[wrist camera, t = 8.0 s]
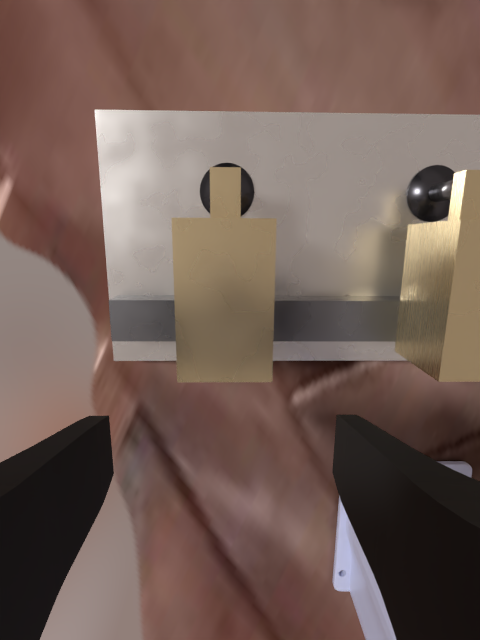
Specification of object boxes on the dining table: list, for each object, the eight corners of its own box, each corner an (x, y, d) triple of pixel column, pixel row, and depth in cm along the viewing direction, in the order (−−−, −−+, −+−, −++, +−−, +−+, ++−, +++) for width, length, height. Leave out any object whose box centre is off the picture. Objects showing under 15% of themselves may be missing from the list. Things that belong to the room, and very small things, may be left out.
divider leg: (261, 344, 18) (272, 381, 13) (191, 344, 18) (177, 382, 13) (265, 179, 16) (278, 155, 12) (187, 179, 16) (169, 154, 12)
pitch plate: (468, 351, 21) (580, 404, 14) (122, 352, 20) (68, 406, 14) (503, 125, 18) (662, 58, 11) (106, 120, 18) (29, 47, 11)
